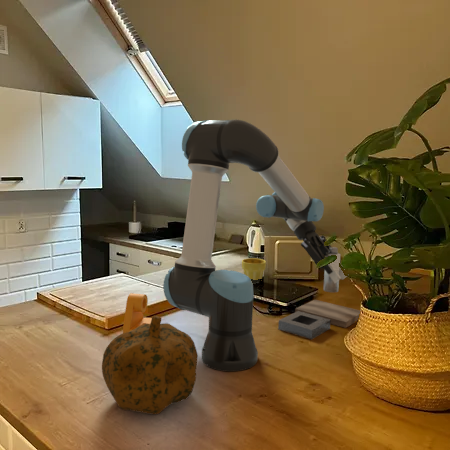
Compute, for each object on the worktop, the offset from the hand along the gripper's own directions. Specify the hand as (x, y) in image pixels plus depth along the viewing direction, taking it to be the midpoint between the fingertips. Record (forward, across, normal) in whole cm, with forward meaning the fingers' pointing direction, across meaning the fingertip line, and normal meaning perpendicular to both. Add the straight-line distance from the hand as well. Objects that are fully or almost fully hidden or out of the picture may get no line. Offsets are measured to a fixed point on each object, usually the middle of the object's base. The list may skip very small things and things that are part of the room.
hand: (341, 278), depth 153 cm
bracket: (-18, +54, -38) cm, 69 cm away
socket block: (+7, +17, -12) cm, 22 cm away
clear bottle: (+1, 0, -6) cm, 6 cm away
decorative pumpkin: (+4, +78, -15) cm, 80 cm away
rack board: (+7, 0, -12) cm, 14 cm away
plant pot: (-24, -15, -44) cm, 52 cm away
